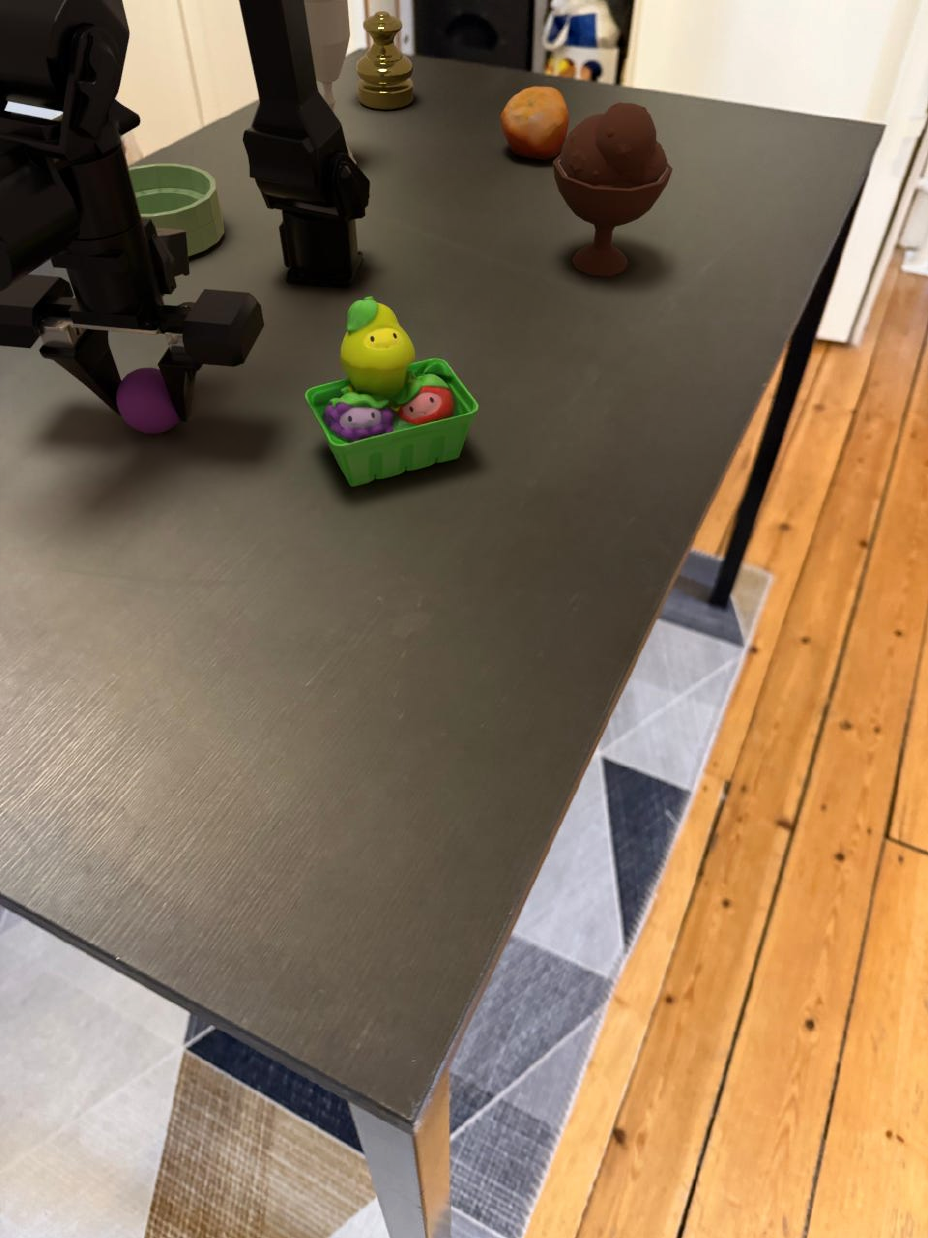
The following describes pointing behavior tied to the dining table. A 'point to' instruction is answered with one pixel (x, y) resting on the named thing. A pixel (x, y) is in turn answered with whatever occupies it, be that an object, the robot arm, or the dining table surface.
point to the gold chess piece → (384, 66)
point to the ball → (146, 401)
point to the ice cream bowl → (611, 178)
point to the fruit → (536, 122)
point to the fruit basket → (389, 401)
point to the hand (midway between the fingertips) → (155, 416)
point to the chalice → (328, 42)
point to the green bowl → (180, 202)
